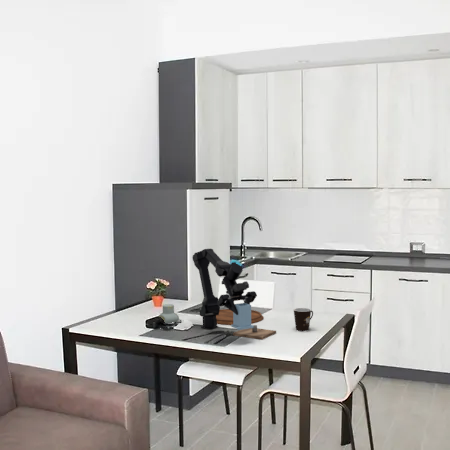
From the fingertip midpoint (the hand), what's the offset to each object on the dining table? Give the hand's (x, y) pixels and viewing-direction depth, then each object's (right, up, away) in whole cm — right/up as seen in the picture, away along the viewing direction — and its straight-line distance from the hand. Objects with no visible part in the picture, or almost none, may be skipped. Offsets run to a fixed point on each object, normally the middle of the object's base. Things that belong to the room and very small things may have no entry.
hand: (243, 313), depth 281 cm
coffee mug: (+31, -12, +25) cm, 42 cm away
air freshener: (-38, -11, +40) cm, 57 cm away
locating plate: (+6, -12, +16) cm, 21 cm away
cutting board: (-4, -11, +51) cm, 53 cm away
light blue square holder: (-1, -7, +2) cm, 7 cm away
